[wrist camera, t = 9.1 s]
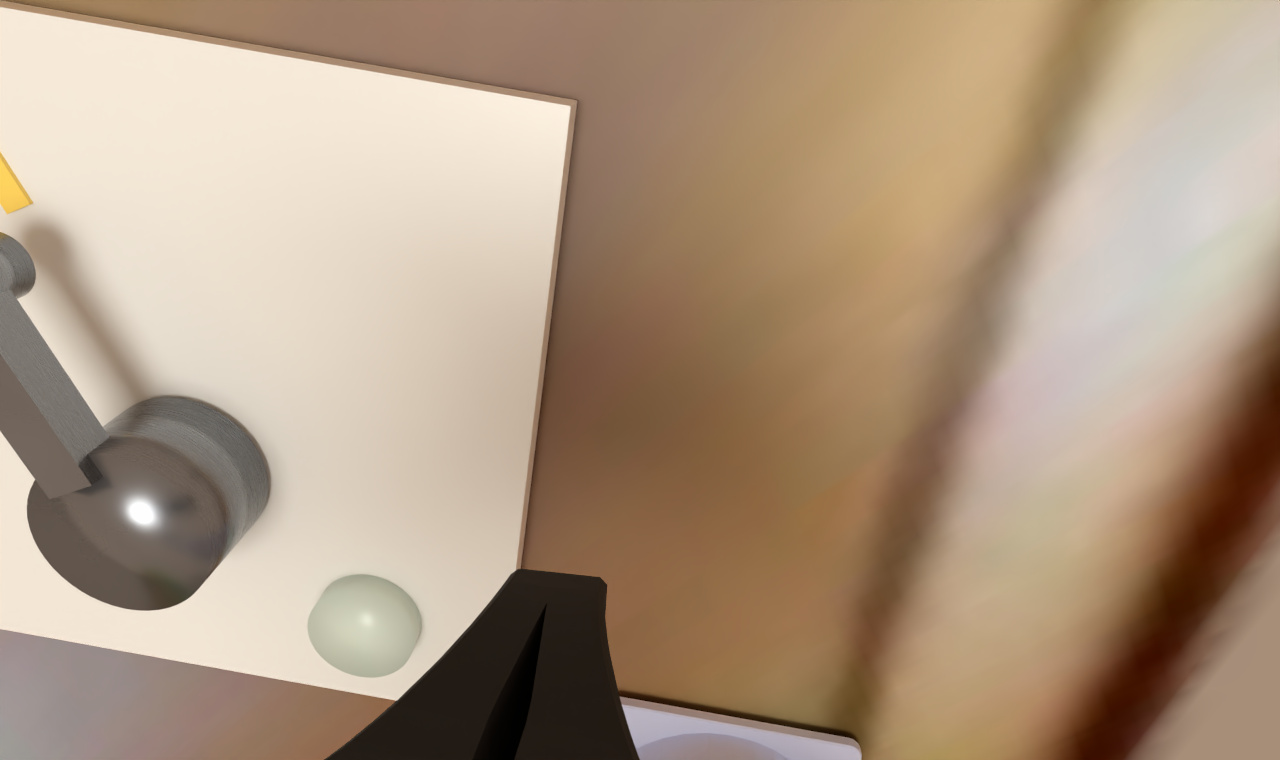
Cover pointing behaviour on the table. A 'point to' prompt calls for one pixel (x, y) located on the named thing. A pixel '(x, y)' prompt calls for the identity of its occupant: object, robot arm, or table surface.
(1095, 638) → the table surface
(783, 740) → the robot arm
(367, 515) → the white paper sheet
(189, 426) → the grey crank handle
